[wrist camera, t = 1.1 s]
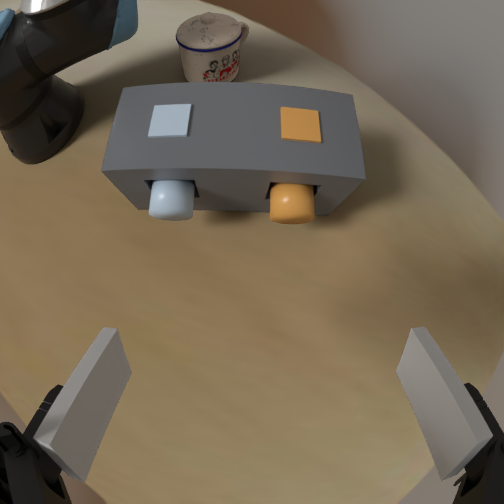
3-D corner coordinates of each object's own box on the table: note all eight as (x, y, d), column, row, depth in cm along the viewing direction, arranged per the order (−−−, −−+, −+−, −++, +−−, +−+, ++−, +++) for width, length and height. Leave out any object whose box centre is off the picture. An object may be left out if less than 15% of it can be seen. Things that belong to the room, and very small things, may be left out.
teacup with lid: (207, 99, 39) (201, 42, 27) (171, 72, 39) (159, 18, 28) (265, 63, 40) (273, 9, 29) (227, 39, 41) (228, -12, 30)
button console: (149, 141, 37) (122, 85, 25) (323, 146, 38) (353, 93, 26) (138, 209, 35) (99, 169, 23) (327, 215, 37) (367, 177, 25)
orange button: (267, 192, 32) (273, 175, 27) (307, 194, 32) (318, 178, 28) (267, 223, 31) (273, 210, 27) (308, 225, 31) (319, 213, 27)
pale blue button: (158, 189, 31) (148, 173, 27) (197, 189, 31) (192, 173, 27) (154, 220, 30) (143, 207, 26) (195, 220, 31) (189, 208, 26)
